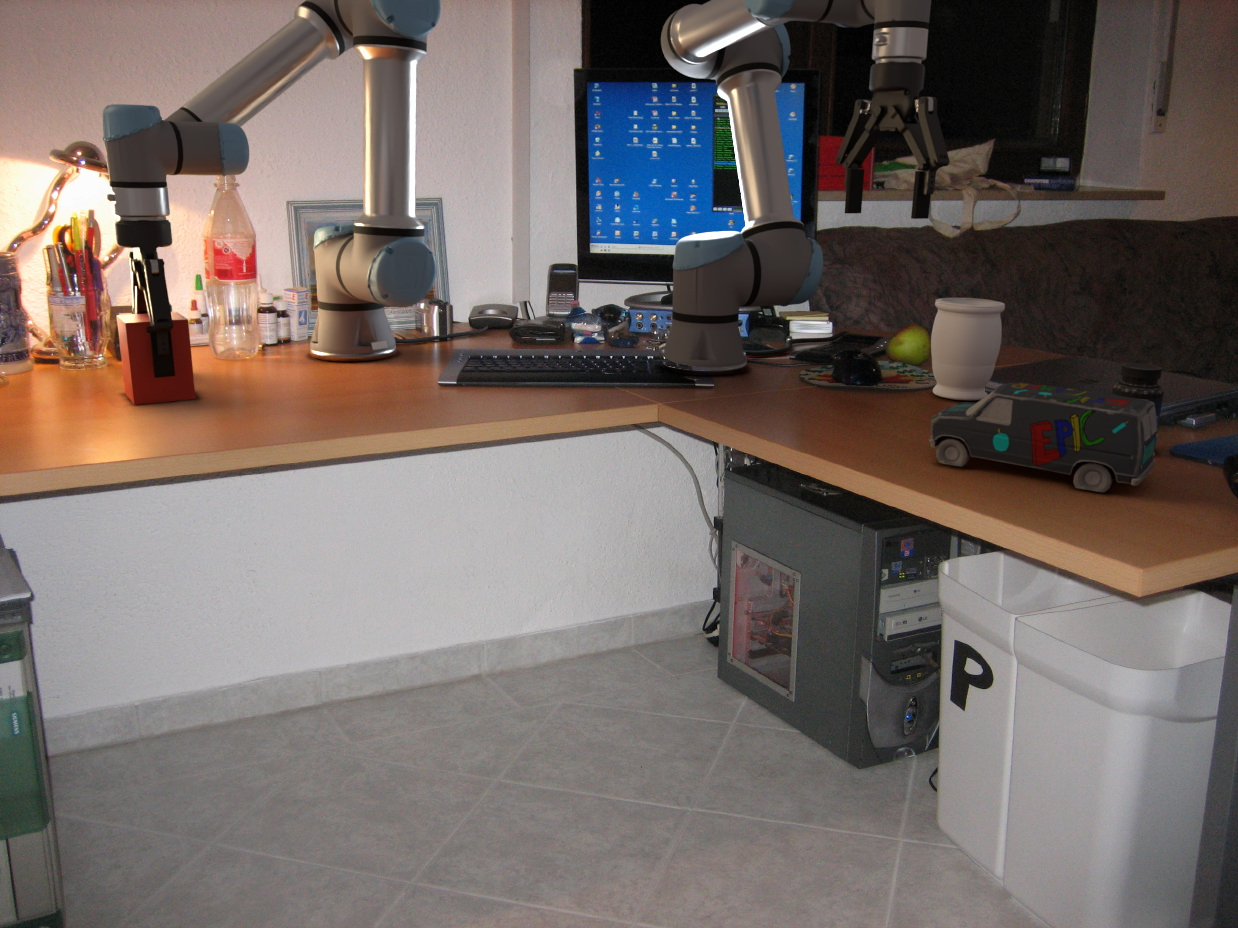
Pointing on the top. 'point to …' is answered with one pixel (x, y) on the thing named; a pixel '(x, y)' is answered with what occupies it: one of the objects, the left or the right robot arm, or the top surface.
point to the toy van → (1052, 433)
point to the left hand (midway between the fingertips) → (157, 369)
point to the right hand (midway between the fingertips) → (885, 216)
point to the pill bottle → (1141, 384)
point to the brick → (140, 362)
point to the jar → (965, 346)
